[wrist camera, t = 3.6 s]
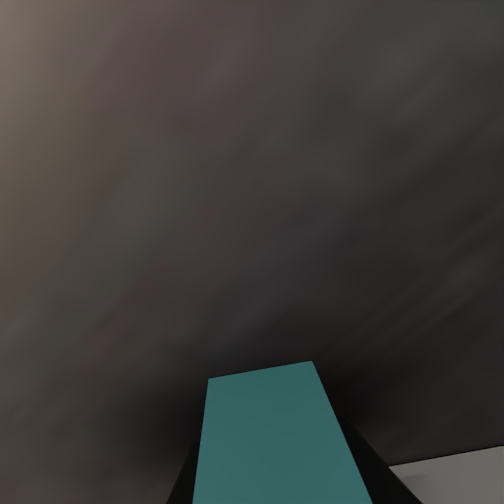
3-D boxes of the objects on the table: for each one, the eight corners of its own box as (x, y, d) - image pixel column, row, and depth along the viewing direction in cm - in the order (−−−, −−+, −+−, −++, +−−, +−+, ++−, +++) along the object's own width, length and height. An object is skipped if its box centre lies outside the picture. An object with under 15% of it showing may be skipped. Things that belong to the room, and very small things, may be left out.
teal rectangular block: (311, 360, 11) (399, 567, 5) (321, 442, 12) (404, 692, 6) (208, 378, 11) (178, 610, 5) (227, 459, 12) (220, 728, 6)
